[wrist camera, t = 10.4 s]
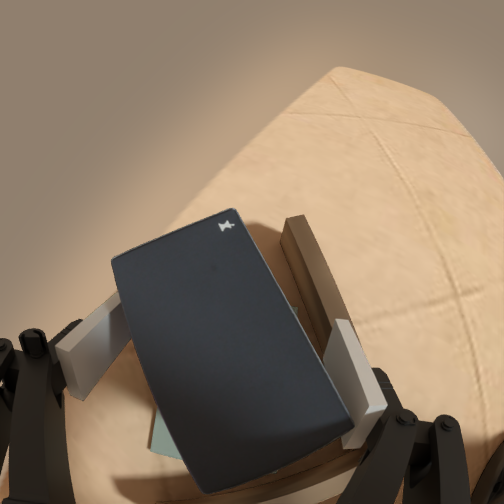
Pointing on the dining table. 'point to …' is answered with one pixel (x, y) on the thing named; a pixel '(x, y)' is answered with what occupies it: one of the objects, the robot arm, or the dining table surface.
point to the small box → (225, 354)
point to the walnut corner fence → (322, 318)
